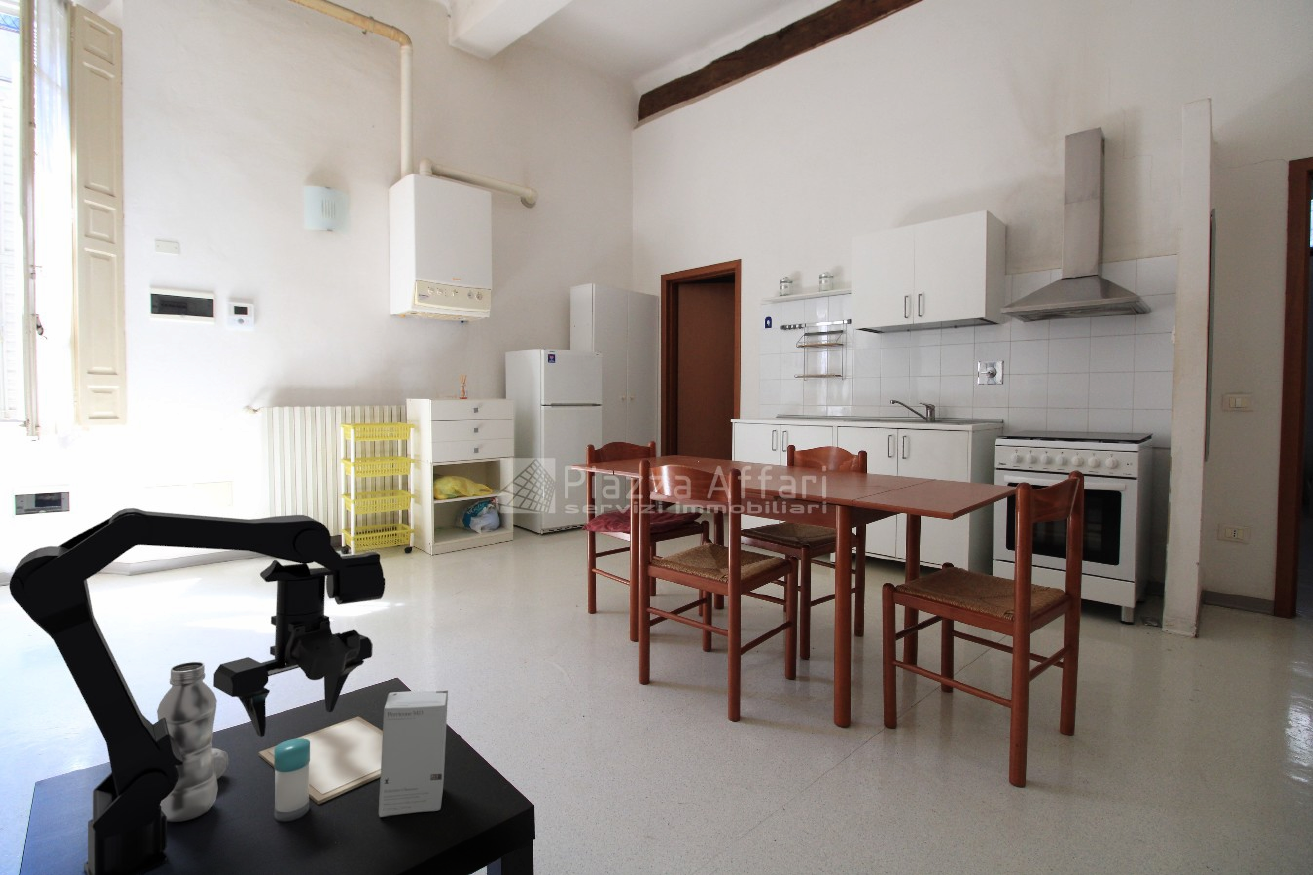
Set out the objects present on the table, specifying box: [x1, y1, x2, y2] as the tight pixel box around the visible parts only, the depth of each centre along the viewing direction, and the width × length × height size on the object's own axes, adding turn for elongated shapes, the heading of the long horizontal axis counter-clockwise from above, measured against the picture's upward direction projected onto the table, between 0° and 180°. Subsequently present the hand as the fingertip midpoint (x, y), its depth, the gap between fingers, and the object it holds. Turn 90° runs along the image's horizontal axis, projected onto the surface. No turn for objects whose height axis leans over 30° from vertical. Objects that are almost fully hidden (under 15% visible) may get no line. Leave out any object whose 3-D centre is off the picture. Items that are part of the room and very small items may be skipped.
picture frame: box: [258, 716, 383, 805], centre depth 102 cm, size 16×20×1 cm
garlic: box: [212, 747, 229, 781], centre depth 94 cm, size 6×5×5 cm
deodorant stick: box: [273, 737, 310, 822], centre depth 88 cm, size 4×4×9 cm
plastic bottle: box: [156, 661, 219, 823], centre depth 86 cm, size 6×7×20 cm
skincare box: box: [378, 689, 449, 818], centre depth 90 cm, size 8×6×15 cm
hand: (296, 723), depth 88 cm, fingers open, 9 cm apart
